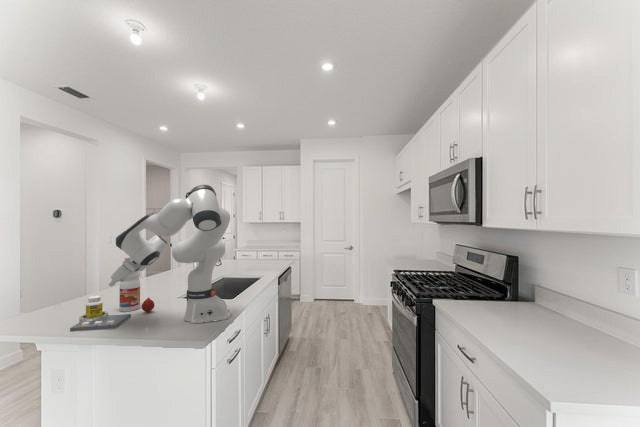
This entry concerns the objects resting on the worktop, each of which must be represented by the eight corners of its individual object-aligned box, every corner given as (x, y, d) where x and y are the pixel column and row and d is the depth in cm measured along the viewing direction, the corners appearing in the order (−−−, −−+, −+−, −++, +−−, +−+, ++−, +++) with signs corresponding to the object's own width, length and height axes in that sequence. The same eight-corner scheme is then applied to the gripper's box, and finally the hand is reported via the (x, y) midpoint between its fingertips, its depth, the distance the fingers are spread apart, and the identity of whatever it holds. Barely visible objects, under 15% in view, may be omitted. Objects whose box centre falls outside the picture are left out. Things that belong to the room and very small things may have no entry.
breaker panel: (130, 317, 145) (130, 311, 145) (115, 328, 130) (115, 322, 130) (90, 319, 141) (90, 313, 141) (70, 331, 127) (70, 325, 127)
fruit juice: (143, 306, 161) (144, 256, 162) (132, 312, 152) (132, 259, 152) (127, 306, 162) (128, 256, 162) (115, 311, 152) (115, 259, 153)
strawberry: (140, 315, 148) (140, 299, 148) (143, 311, 153) (143, 296, 153) (152, 314, 149) (152, 298, 149) (155, 310, 155) (156, 295, 155)
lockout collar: (111, 315, 142) (111, 310, 142) (100, 323, 132) (100, 318, 132) (88, 317, 140) (88, 312, 140) (75, 325, 130) (75, 319, 130)
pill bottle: (89, 323, 132) (89, 299, 132) (83, 321, 135) (83, 297, 135) (104, 319, 137) (105, 296, 137) (98, 317, 140) (98, 294, 140)
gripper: (142, 254, 150) (121, 274, 148) (122, 260, 130) (98, 283, 128) (151, 263, 151) (130, 282, 149) (133, 270, 131) (109, 293, 129)
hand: (115, 283), depth 138 cm, fingers open, 8 cm apart
